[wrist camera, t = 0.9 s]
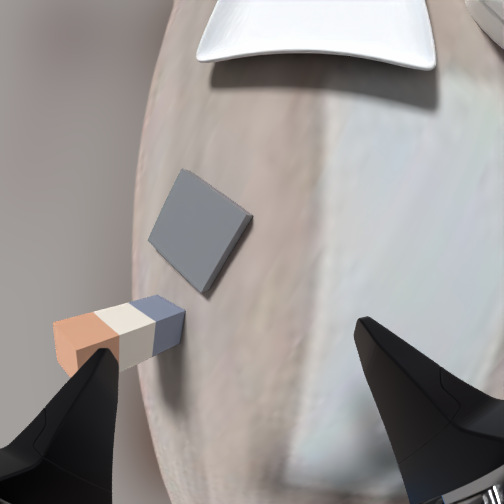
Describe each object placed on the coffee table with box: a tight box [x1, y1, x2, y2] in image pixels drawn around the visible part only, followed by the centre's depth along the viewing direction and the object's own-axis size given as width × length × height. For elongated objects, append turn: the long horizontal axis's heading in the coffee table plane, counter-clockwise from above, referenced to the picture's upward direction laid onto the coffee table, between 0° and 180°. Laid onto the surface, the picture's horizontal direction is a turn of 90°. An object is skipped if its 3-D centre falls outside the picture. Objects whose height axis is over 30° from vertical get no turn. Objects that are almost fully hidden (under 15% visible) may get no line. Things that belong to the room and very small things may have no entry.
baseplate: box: [148, 169, 253, 293], centre depth 24 cm, size 8×8×1 cm
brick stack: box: [53, 295, 185, 377], centre depth 22 cm, size 4×4×13 cm
